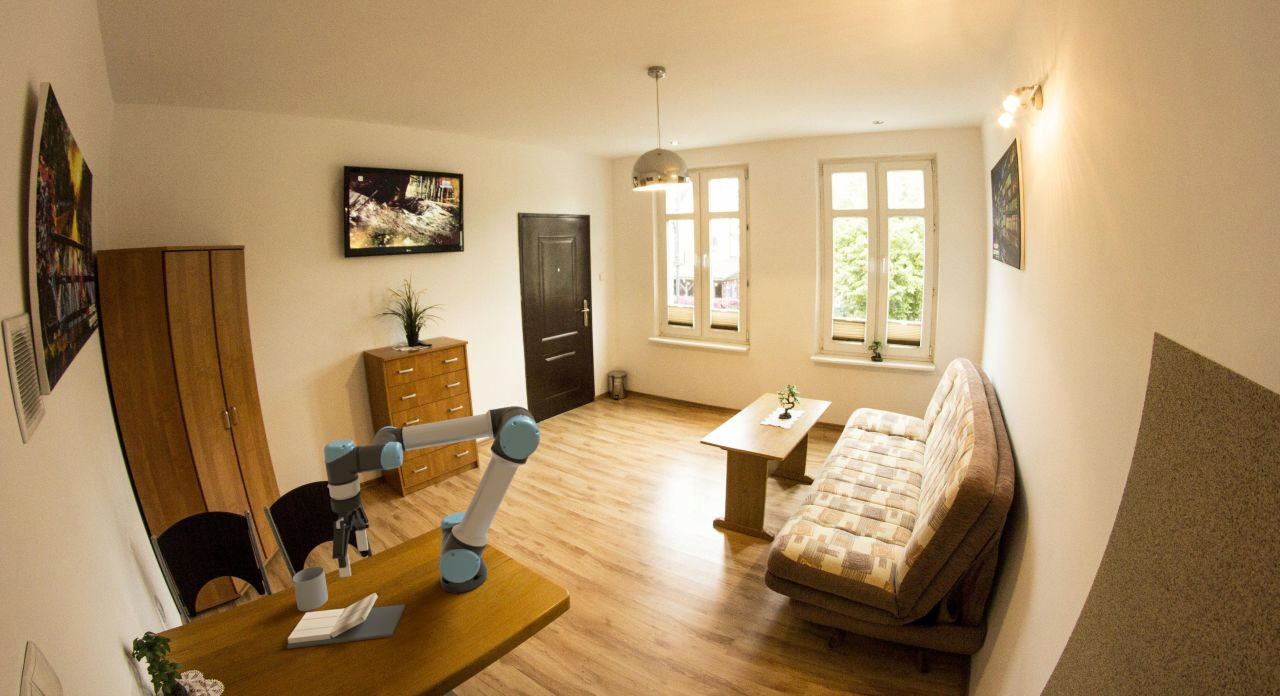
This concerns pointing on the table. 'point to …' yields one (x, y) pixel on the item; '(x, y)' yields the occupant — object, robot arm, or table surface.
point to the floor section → (321, 623)
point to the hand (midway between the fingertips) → (354, 562)
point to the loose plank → (354, 615)
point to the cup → (310, 588)
